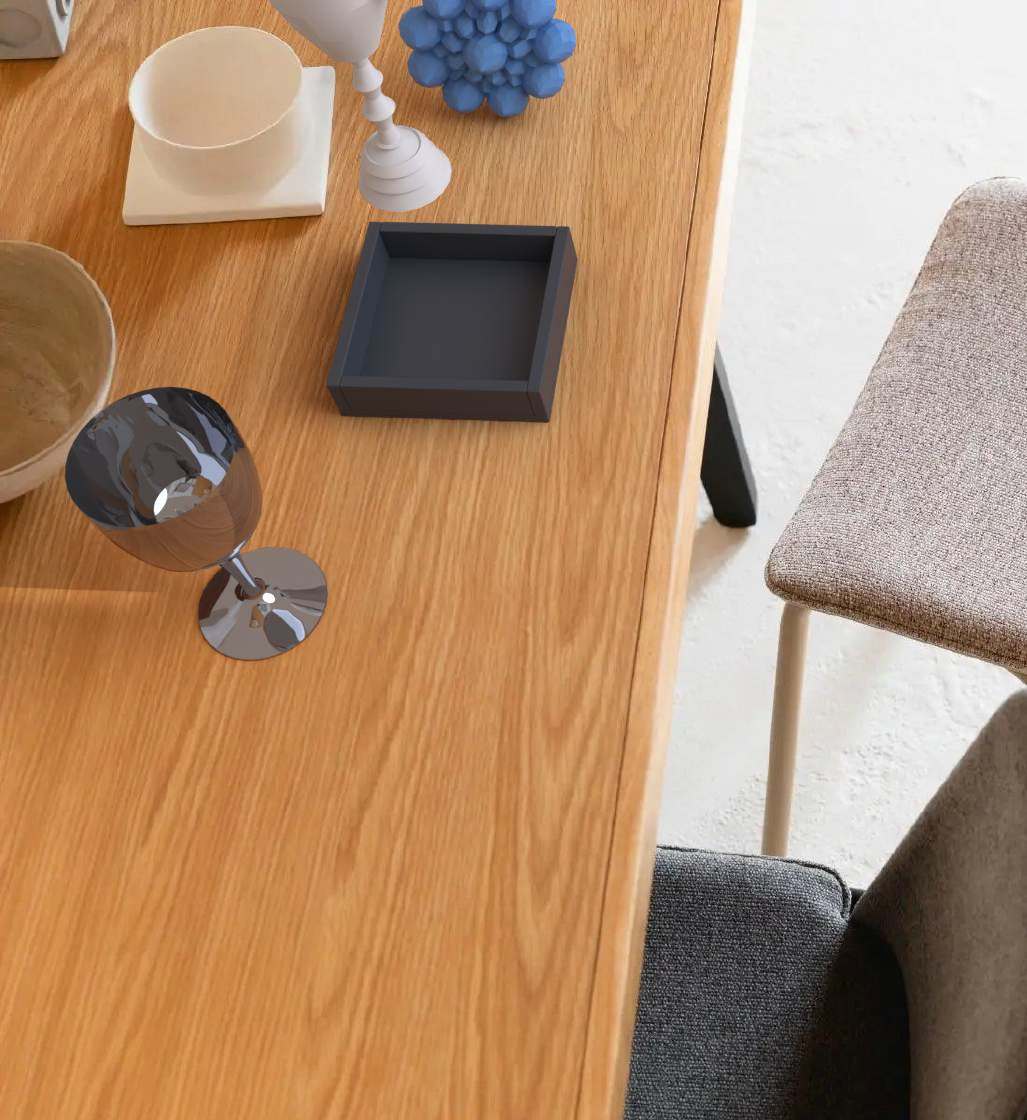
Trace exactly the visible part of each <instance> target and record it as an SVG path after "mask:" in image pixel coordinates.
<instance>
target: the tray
mask: <svg viewBox="0 0 1027 1120" xmlns="http://www.w3.org/2000/svg"><path fill="white" fill-rule="evenodd" d="M362 243H363V244H362V247H361V251H360V255H359V259H358V263H357V266H356V269H355V273H354V277H353V282H352V285H351V288H350V293H349V295H348V300H347V303H346V308H345V312H344V314H343V319H342V323H341V326H340V330H339V334H338V338H337V342H336V344H335V345H336V346H335V349H334V353H333V357H332V361H331V364H330V367H329V372H328V376H327V379H326V383H325V387H326V389H327V391H328V393H329V395H330V396H331V398H332V400H333V402H334V404H335V406H336V407H337V409H338V411H339V414H340V415H341V416H342V417H364V418H365V417H367V418H400V419H401V418H403V419H404V418H405V419H433V420H434V419H435V420H466V421H470V420H471V421H496V422H497V421H501V422H503V421H504V422H531V423H532V422H534V423H535V422H536V423H550V421H551V416H552V409H553V404H554V398H555V392H556V387H557V381H558V377H559V370H560V364H561V358H562V351H563V348H564V347H563V346H564V341H565V335H566V329H567V324H568V317H569V312H570V306H571V300H572V294H573V289H574V282H575V277H576V272H577V265H578V261H579V259H578V255H577V251H576V247H575V243H574V240H573V236H572V232H571V229H570V226H568V225H567V226H566V225H557V226H556V225H532V224H531V225H527V224H526V225H525V224H524V225H523V224H492V223H491V224H490V223H487V224H485V223H447V222H414V221H413V222H411V221H382V222H381V221H369V222H368V225H367V229H366V233H365V236H364V239H363V242H362Z"/></svg>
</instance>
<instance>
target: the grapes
mask: <svg viewBox="0 0 1027 1120" xmlns="http://www.w3.org/2000/svg"><path fill="white" fill-rule="evenodd" d="M421 3H422V5H416V6H412V7H409V8H408V9H407V10H406V11H405V12H404V13H402V14H401V17H400V18H399V22H398V26H397V27H398V32H399V37H400V38H401V40H402V41H403V43H404V44H405V45H406V47H408V48H410V49H411V50H412V51H411V52H410V54H409V57H408V59H407V63H406V64H407V69H408V74H409V75H410V77H411V79H412V80H413V82H414V83H415V84H417V85H418V86H420V87H422V88H426V89H433V88H437V87H441V86H442V87H441V95H442V100H443V102H444V103H445V104H446V106H447V107H448V108H449V110H451V111H452V112H454V113H457V114H469V113H472V112H475V111H477V110H478V109H479V108H480V107H482V106H483V104H484V102H485V101H486V105H487V107H488V108H489V109H490V111H491V112H492V113H493V114H494V115H496V116H498V117H500V118H505V119H506V118H507V119H509V118H514V117H517V116H519V115H520V114H522V113H523V112H524V111H525V110H526V109H527V107H528V104H529V102H530V96H531V97H533V98H535V99H540V100H544V99H545V100H546V99H549V98H553V97H554V96H556V95H557V94H558V93H559V92H560V91H561V90H562V89H563V86H564V84H565V82H566V76H565V70H564V69H565V68H564V66H563V65H562V63H565V62H566V61H568V60H569V58H571V57H572V56H573V54H574V52H575V50H576V47H577V39H576V32H575V30H574V28H573V27H572V25H570V24H571V23H569V22H567V21H565V20H563V19H559V18H554V17H555V14H556V12H557V1H556V0H421Z"/></svg>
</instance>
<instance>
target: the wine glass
mask: <svg viewBox="0 0 1027 1120" xmlns="http://www.w3.org/2000/svg"><path fill="white" fill-rule="evenodd" d="M65 460H66V461H65V467H64V481H65V486H66V490H67V492H68V494H69V496H70V498H71V501H72V502H73V503H74V505H75V506H76V507H77V508H78V510H79V511H80V512H81V513H82V514H83V516H84V517H85V518H86V519H87V520H88V522H89V523H90V524H91V525H92V526H93V527H94V528H95V529H96V530H97V531H98V532H100V533H101V535H102V536H104V538H106V539H107V540H108V541H109V542H110V543H112V544H113V545H115V546H116V547H118V548H119V549H120V550H122V551H123V552H125V553H126V554H127V555H129V556H131V557H133V558H134V559H136V560H138V561H140V562H142V563H144V564H147V565H148V566H151V567H153V568H157V569H161V570H164V571H167V572H174V573H193V572H198V571H203V570H208V569H211V568H214V567H217V566H220V567H221V568H220V569H219V570H218V571H216V573H215V574H214V575H213V576H212V578H211V579H210V580H209V581H208V583H207V585H206V587H205V589H204V590H203V592H202V595H201V598H200V601H199V607H198V623H199V627H200V631H201V633H202V635H203V637H204V639H205V640H206V642H207V643H208V644H209V646H211V647H212V648H213V649H215V651H217V652H218V653H220V654H222V655H224V656H225V657H228V658H232V659H235V660H239V661H249V662H250V661H262V660H266V659H271V658H274V657H277V656H280V655H283V654H285V653H287V652H288V651H290V650H292V649H294V648H295V647H296V646H299V644H301V643H302V642H303V641H305V640H306V639H307V638H308V637H309V635H310V634H312V632H313V631H314V630H315V628H316V627H317V626H318V624H319V623H320V621H321V618H322V617H323V616H324V613H325V610H326V607H327V602H328V584H327V580H326V577H325V574H324V573H323V571H322V569H321V567H320V566H319V565H318V564H317V563H316V561H315V560H314V559H312V558H311V557H309V556H308V555H306V554H305V553H302V552H300V551H298V550H295V549H292V548H288V547H280V546H279V547H278V546H274V547H261V548H257V549H254V550H253V549H252V550H250V551H248V552H245V553H243V554H241V552H240V551H241V550H243V548H244V547H245V546H246V545H247V544H248V542H249V541H250V540H251V538H252V537H253V535H254V533H255V531H256V529H258V526H259V523H260V520H261V517H262V509H263V490H262V485H261V479H260V475H259V472H258V468H257V466H256V462H255V459H254V456H253V453H252V452H251V450H250V448H249V446H248V444H247V443H246V441H245V439H244V437H243V435H242V434H241V432H240V429H239V427H238V426H237V425H236V423H235V422H234V420H233V418H232V417H231V416H230V414H229V413H228V412H227V411H226V410H225V409H224V407H223V406H222V405H221V404H220V403H219V402H217V400H215V399H214V398H212V397H211V396H209V395H207V394H204V393H203V392H200V391H199V390H195V389H191V388H186V387H180V386H179V387H178V386H164V387H162V386H161V387H160V386H159V387H152V388H148V389H143V390H139V391H136V392H133V393H131V394H128V395H125V396H122V397H121V398H119V399H117V400H115V401H113V402H111V403H110V404H109V405H107V406H105V407H104V408H103V409H101V410H100V411H99V412H97V413H96V414H95V415H94V416H93V417H91V418H90V419H89V420H88V421H87V423H86V424H85V425H84V426H83V427H82V428H81V429H80V431H79V432H78V433H77V435H76V437H75V438H74V440H73V442H72V444H71V446H70V448H69V450H68V453H67V456H66V459H65Z"/></svg>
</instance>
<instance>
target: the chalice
mask: <svg viewBox="0 0 1027 1120" xmlns="http://www.w3.org/2000/svg"><path fill="white" fill-rule="evenodd" d="M268 1H269V3H270V4H271V6H272V8H274V9H275V10H276V11H277V12H278V13H279V14H280V15H281V16H282V17H283V19H284V20H286V22H287V23H288V24H289V25H290V26H291V27H292V28H293V29H294V30H295V31H296V32H297V33H298V34H299V35H301V36H302V37H303V38H305V39H306V40H307V41H309V43H311V44H312V45H313V46H315V47H316V48H317V49H319V50H320V52H321V51H322V53H324V54H325V55H326V56H327V57H329V58H330V59H332V60H334V61H335V62H339V63H343V64H351V66H352V74H353V75H352V77H351V86H352V87H353V89H354V90H356V91H357V92H359V93H361V94H362V96H363V97H364V103H363V104H362V106H361V109H360V111H361V115H362V117H363V119H365V120H367V121H370V122H372V123H373V124H374V126H375V127H376V131H375V132H373V133H372V134H371V135H370V136H368V138H367V140H366V141H365V143H364V145H363V147H361V148H362V149H361V151H360V156H359V158H360V161H359V167H358V171H359V173H358V177H357V187H358V192H359V194H360V195H361V197H362V198H363V199H364V201H365V202H366V203H367V204H369V205H371V206H372V207H374V208H376V209H377V210H381V211H386V212H390V213H395V212H396V213H403V212H404V213H406V212H410V211H414V210H417V209H421V208H423V207H424V206H426V205H428V204H431V203H432V202H434V201H435V200H436V199H437V198H439V197H440V196H441V195H442V194H443V193H444V192H445V191H446V188H448V185H449V183H450V182H451V177H452V173H453V170H452V165H451V162H450V159H449V157H448V156H447V155H446V154H445V153H444V152H443V150H442V149H440V148H438V147H437V146H436V144H435V143H434V142H433V141H432V140H430V139H429V138H428V137H427V136H426V135H425V133H424V132H421V131H420V130H418V129H417V128H414V127H410V126H406V125H400V124H399V125H398V124H397V125H395V123H394V121H393V114H394V112H395V110H396V102H395V100H393V98H391V97H390V96H387V95H385V94H384V93H383V92H382V83H383V82H384V75H383V73H382V72H381V71H380V70H379V69H377V68H375V66H374V65H373V64H372V62H371V61H370V59H369V57H371V56H372V55H373V54H374V53H375V52H376V51H377V50H378V48H379V46H380V44H381V38H382V33H383V28H384V23H385V19H386V18H385V17H386V12H387V6H388V1H389V0H268Z"/></svg>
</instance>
